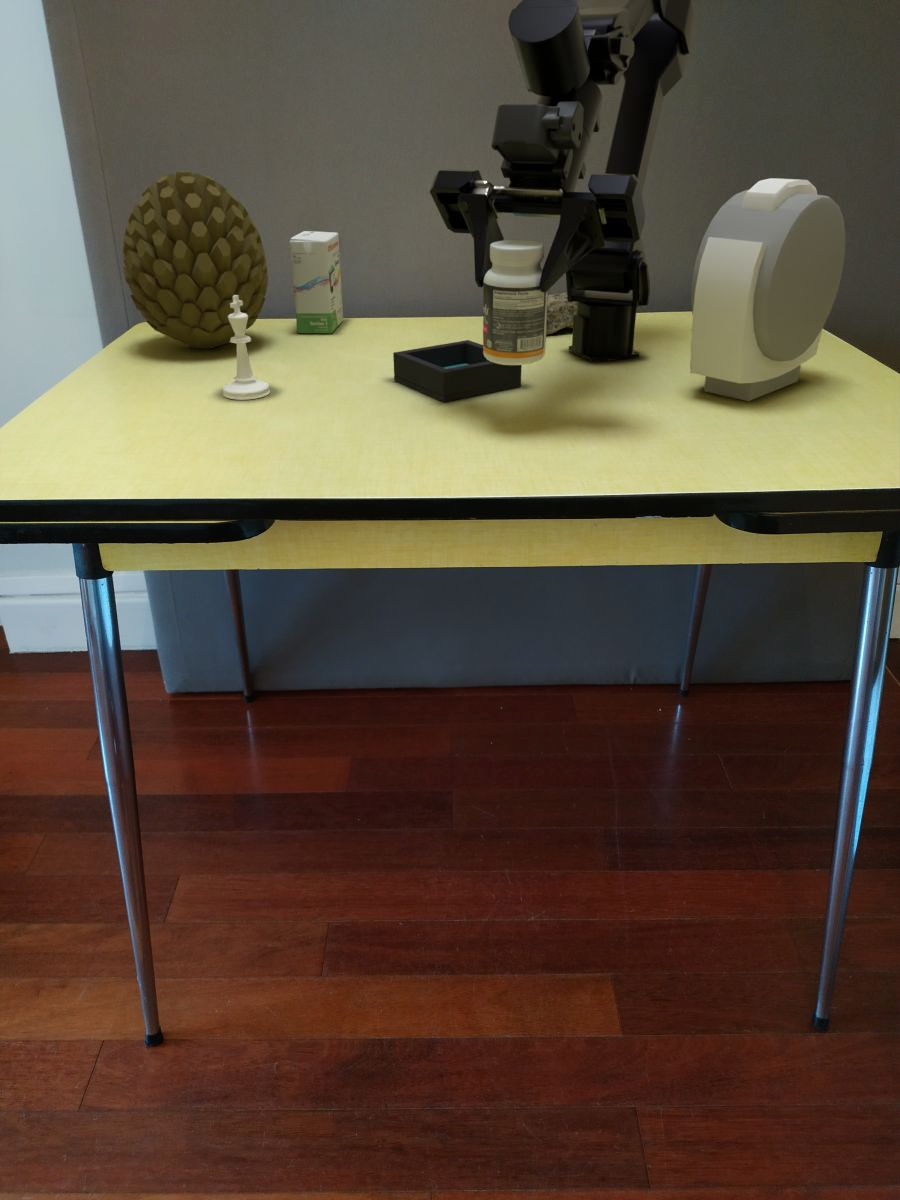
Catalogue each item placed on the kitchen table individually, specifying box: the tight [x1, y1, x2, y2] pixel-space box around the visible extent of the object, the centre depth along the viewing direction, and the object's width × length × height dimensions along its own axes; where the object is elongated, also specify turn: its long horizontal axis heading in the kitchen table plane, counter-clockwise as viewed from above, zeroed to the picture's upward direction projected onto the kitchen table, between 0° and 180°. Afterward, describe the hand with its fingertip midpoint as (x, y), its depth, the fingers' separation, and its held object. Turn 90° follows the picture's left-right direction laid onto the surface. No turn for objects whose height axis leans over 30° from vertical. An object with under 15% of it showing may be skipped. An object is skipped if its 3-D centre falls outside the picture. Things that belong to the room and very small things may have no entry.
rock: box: [546, 291, 578, 335], centre depth 120 cm, size 7×8×4 cm
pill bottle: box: [482, 239, 549, 366], centre depth 81 cm, size 6×6×10 cm
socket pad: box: [392, 339, 523, 403], centre depth 99 cm, size 10×10×3 cm
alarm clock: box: [689, 177, 846, 402], centre depth 93 cm, size 18×8×20 cm, turn 134°
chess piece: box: [222, 295, 271, 401], centre depth 94 cm, size 5×5×10 cm
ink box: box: [289, 230, 344, 334], centre depth 121 cm, size 8×5×12 cm, turn 175°
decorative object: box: [122, 170, 269, 350], centre depth 110 cm, size 17×17×20 cm
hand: (509, 286), depth 79 cm, fingers closed on pill bottle, 6 cm apart
